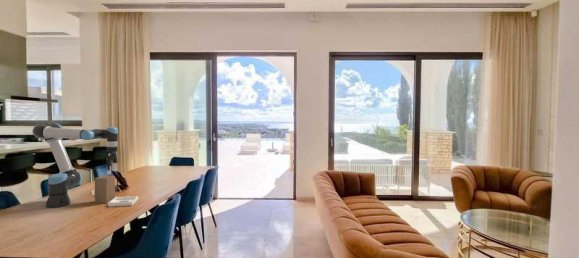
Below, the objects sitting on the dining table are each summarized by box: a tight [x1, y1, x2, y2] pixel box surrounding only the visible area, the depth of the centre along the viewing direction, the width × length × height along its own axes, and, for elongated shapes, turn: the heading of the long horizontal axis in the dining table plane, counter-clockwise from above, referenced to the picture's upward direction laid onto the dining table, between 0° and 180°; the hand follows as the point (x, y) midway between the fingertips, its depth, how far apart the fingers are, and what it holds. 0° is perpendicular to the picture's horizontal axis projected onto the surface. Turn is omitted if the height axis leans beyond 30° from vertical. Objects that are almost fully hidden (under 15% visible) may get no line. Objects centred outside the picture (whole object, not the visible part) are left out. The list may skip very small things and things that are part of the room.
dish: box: [107, 195, 139, 208], centre depth 242 cm, size 17×17×3 cm
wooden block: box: [94, 175, 116, 205], centre depth 244 cm, size 10×10×20 cm
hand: (111, 172), depth 247 cm, fingers open, 13 cm apart
